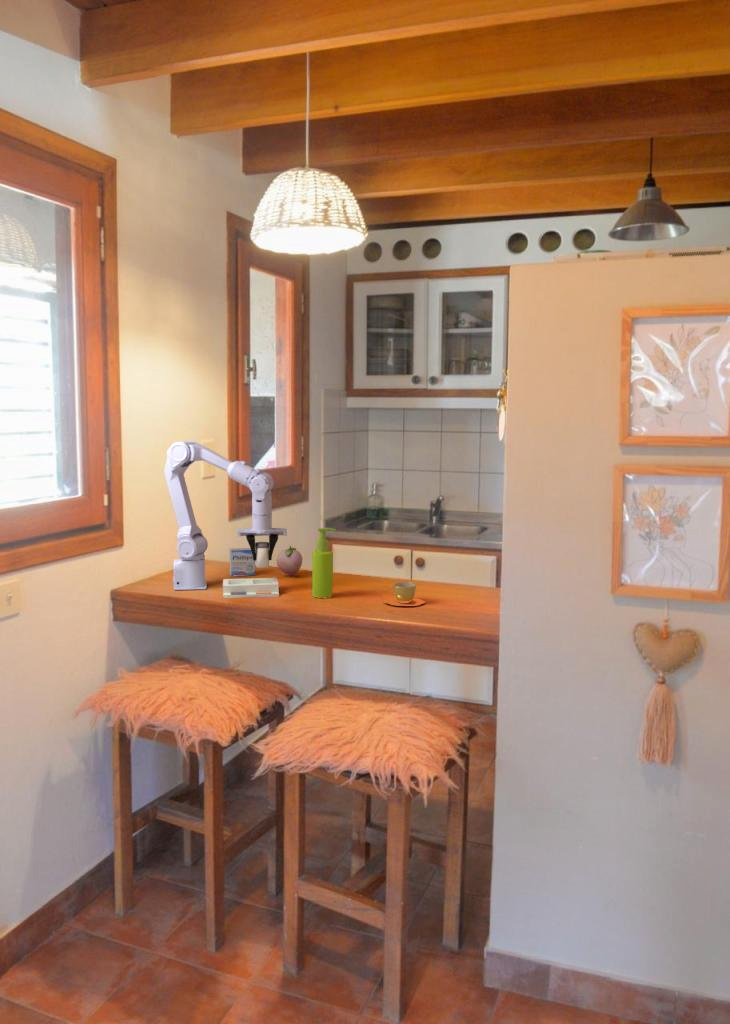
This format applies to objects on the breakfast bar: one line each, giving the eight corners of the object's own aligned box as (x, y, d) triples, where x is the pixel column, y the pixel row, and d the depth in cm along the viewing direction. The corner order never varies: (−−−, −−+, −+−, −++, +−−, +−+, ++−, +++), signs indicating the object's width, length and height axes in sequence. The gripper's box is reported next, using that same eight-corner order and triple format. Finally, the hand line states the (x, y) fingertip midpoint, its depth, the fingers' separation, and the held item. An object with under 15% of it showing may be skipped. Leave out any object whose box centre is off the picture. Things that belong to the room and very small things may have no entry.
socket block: (223, 598, 224) (222, 587, 224) (223, 588, 235) (223, 579, 235) (279, 596, 227) (279, 586, 226) (276, 587, 238) (276, 577, 238)
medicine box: (230, 576, 252) (230, 550, 251) (229, 574, 257) (229, 548, 255) (255, 575, 254) (255, 549, 253) (253, 573, 259) (253, 547, 257)
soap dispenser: (337, 598, 226) (338, 529, 223) (313, 598, 224) (314, 530, 222) (333, 593, 232) (334, 526, 229) (310, 594, 230) (311, 526, 228)
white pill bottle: (255, 567, 230) (255, 544, 229) (255, 565, 234) (254, 542, 233) (269, 567, 231) (269, 543, 230) (268, 564, 235) (268, 541, 234)
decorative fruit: (278, 573, 259) (278, 543, 257) (303, 573, 259) (303, 543, 257) (275, 579, 249) (274, 548, 248) (300, 579, 249) (300, 548, 248)
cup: (426, 608, 216) (427, 589, 215) (383, 608, 216) (383, 589, 215) (424, 598, 228) (424, 580, 227) (383, 597, 228) (383, 579, 227)
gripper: (237, 516, 225) (237, 562, 227) (287, 515, 228) (287, 561, 230) (236, 513, 232) (237, 558, 234) (285, 512, 235) (286, 557, 236)
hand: (262, 559), depth 232 cm, fingers closed on white pill bottle, 4 cm apart
